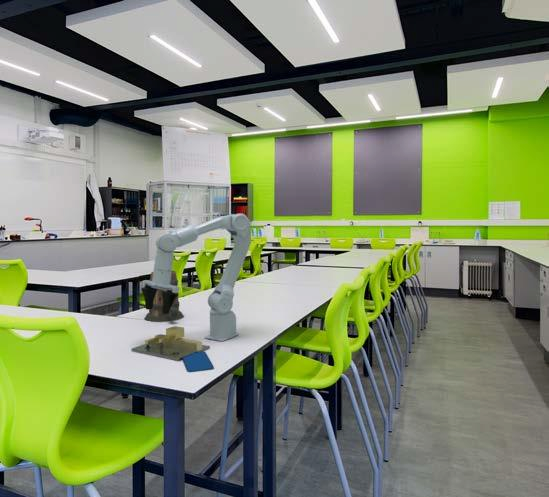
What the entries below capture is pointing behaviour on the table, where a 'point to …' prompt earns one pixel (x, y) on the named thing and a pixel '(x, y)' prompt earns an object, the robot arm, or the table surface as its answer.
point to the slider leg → (172, 334)
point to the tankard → (156, 311)
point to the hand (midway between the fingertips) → (157, 311)
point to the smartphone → (197, 362)
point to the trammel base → (170, 348)
